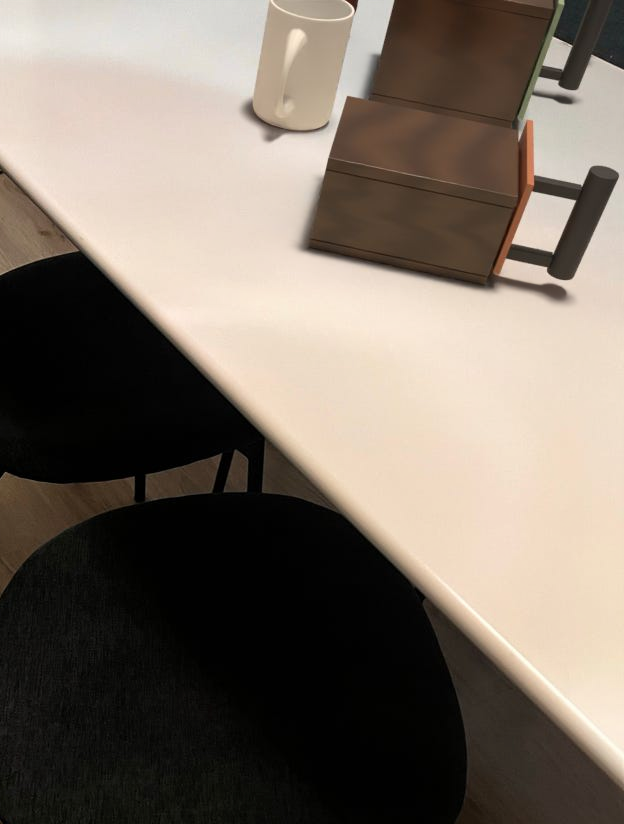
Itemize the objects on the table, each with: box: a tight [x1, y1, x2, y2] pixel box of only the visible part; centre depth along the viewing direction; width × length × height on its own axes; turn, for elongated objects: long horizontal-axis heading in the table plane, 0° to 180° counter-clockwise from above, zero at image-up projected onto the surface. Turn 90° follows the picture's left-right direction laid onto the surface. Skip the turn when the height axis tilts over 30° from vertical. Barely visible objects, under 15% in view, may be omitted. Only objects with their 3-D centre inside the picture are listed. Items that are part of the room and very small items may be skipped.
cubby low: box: [307, 95, 520, 286], centre depth 92 cm, size 16×14×8 cm
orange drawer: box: [492, 119, 620, 281], centre depth 91 cm, size 22×14×9 cm, turn 76°
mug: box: [252, 0, 356, 132], centre depth 105 cm, size 9×12×11 cm
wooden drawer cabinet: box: [368, 0, 554, 129], centre depth 114 cm, size 16×14×12 cm
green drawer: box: [516, 0, 614, 121], centre depth 113 cm, size 22×14×11 cm, turn 76°
